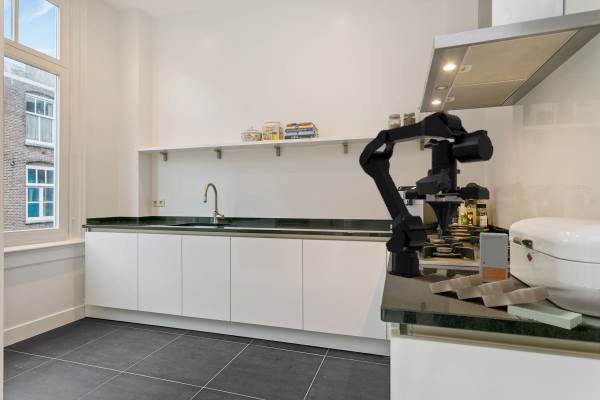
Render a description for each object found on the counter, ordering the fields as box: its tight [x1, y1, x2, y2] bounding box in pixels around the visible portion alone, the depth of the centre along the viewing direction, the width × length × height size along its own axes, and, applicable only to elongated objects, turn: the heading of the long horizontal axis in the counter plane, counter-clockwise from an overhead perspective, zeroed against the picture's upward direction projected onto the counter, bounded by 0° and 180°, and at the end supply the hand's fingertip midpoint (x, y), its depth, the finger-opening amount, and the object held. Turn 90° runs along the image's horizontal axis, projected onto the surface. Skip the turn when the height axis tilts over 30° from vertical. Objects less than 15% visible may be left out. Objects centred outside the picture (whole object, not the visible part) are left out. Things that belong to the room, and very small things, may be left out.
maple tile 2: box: [455, 278, 517, 300], centre depth 65 cm, size 2×5×9 cm
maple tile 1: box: [428, 273, 485, 294], centre depth 69 cm, size 2×5×9 cm
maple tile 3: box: [481, 285, 551, 308], centre depth 60 cm, size 2×5×9 cm
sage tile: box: [507, 302, 583, 330], centre depth 56 cm, size 2×5×9 cm
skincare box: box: [478, 232, 509, 283], centre depth 82 cm, size 6×4×12 cm
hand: (443, 230), depth 79 cm, fingers closed
